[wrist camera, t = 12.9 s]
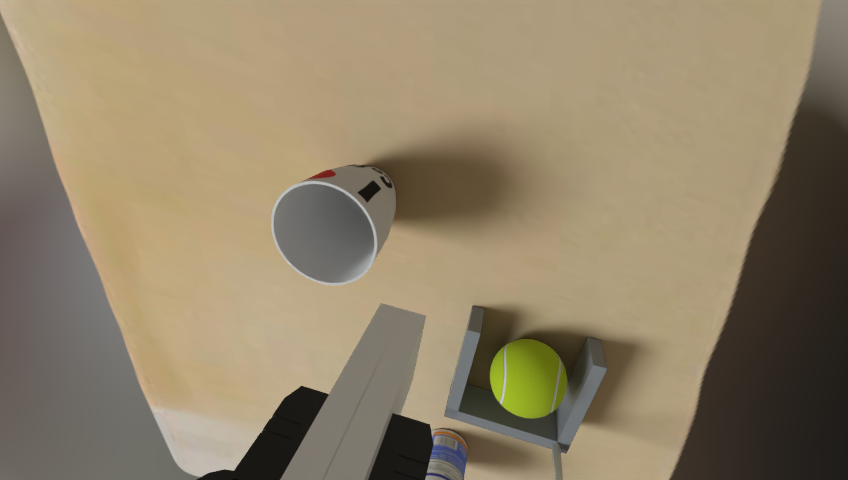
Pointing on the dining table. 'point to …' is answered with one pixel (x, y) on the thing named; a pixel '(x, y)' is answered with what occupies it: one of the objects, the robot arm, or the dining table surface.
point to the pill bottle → (447, 456)
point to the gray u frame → (542, 431)
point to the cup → (335, 223)
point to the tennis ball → (528, 378)
